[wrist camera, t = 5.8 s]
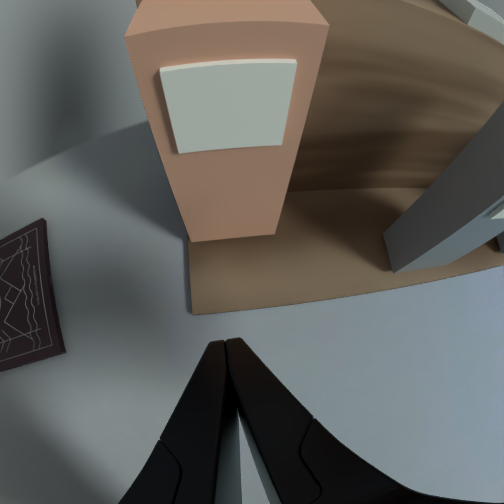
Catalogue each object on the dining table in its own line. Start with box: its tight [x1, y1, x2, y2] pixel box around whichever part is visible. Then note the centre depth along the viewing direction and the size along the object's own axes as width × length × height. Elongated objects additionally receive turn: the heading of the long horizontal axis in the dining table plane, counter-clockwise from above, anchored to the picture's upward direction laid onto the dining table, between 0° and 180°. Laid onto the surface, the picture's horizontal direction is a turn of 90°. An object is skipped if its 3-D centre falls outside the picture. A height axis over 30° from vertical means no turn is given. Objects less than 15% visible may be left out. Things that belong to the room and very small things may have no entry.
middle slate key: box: [383, 101, 504, 274], centre depth 11 cm, size 3×4×12 cm, turn 97°
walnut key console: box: [136, 0, 504, 315], centre depth 11 cm, size 10×27×14 cm, turn 97°
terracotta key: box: [124, 0, 330, 242], centre depth 11 cm, size 3×4×12 cm, turn 97°
